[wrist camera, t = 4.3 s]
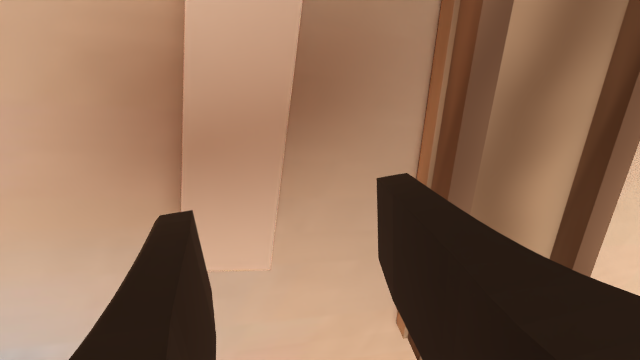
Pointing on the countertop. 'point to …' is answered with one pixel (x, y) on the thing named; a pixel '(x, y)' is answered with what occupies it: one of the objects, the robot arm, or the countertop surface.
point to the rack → (534, 119)
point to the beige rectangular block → (236, 124)
